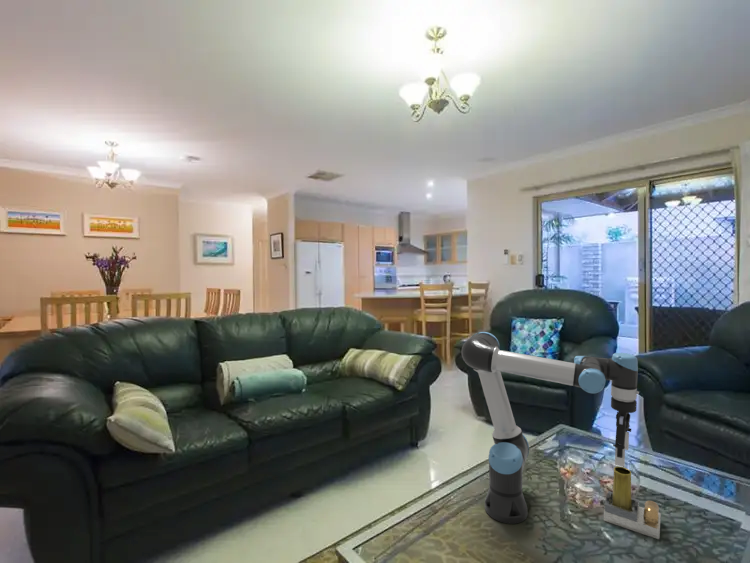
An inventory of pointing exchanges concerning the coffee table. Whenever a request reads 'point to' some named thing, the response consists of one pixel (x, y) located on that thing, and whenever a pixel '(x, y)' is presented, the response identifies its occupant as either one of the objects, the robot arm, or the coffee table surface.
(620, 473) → the vase
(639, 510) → the white holder stand
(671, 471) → the coffee table surface
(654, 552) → the coffee table surface
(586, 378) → the robot arm
